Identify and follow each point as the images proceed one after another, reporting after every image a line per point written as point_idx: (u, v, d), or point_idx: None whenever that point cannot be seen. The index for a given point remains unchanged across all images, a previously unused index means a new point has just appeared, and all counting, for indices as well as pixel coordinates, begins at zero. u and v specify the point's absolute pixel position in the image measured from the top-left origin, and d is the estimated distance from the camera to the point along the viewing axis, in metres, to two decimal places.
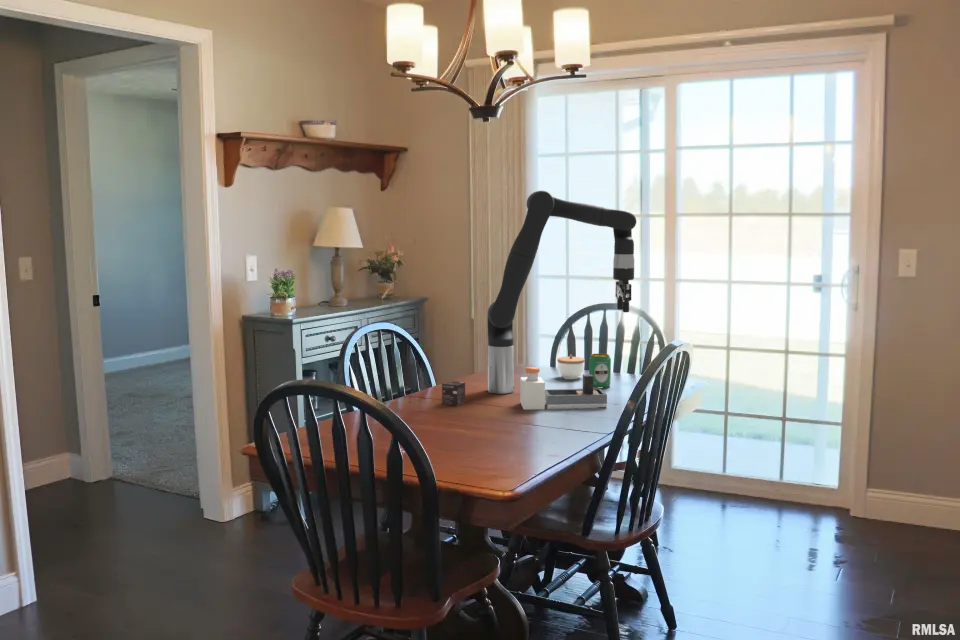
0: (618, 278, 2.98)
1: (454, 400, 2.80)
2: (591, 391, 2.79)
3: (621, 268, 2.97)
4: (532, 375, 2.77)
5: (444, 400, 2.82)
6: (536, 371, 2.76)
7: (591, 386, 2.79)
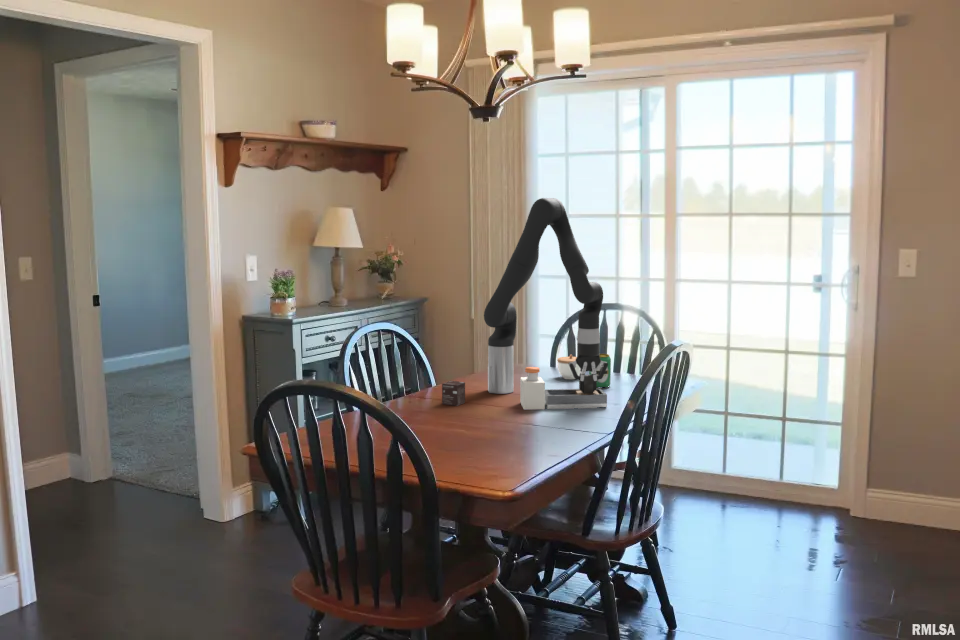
0: (597, 354, 2.76)
1: (453, 399, 2.80)
2: (591, 391, 2.79)
3: (599, 343, 2.77)
4: (532, 375, 2.77)
5: (444, 400, 2.82)
6: (536, 371, 2.76)
7: (591, 386, 2.79)
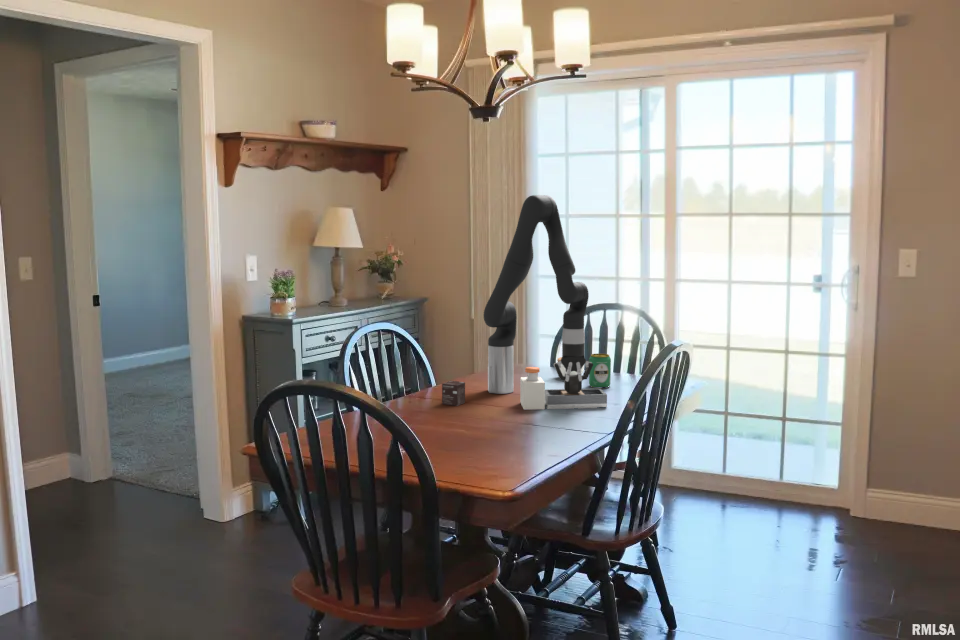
0: (582, 354, 2.76)
1: (453, 399, 2.80)
2: (576, 391, 2.78)
3: (584, 343, 2.76)
4: (532, 375, 2.77)
5: (444, 400, 2.82)
6: (536, 371, 2.76)
7: (576, 386, 2.78)
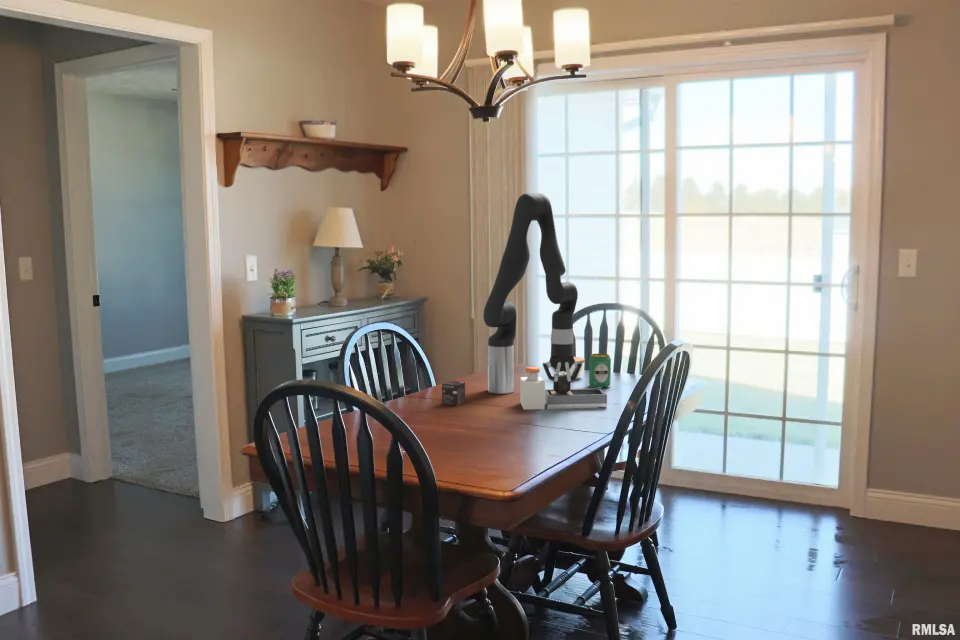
0: (571, 354, 2.76)
1: (453, 399, 2.80)
2: (565, 391, 2.78)
3: (572, 343, 2.76)
4: (532, 375, 2.77)
5: (444, 400, 2.82)
6: (536, 371, 2.76)
7: (565, 386, 2.78)
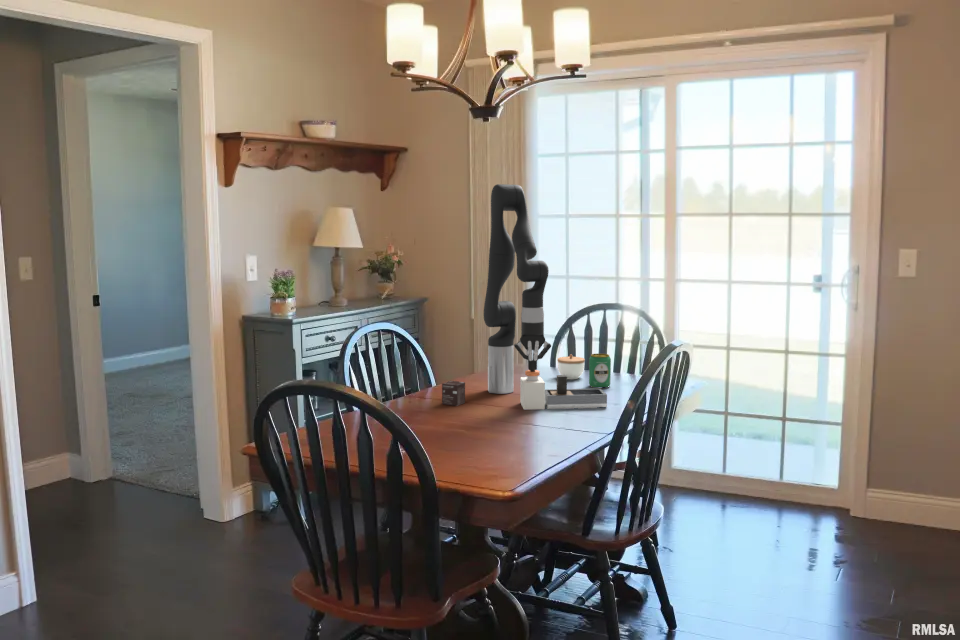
0: (541, 333, 2.74)
1: (453, 399, 2.80)
2: (565, 391, 2.78)
3: (543, 322, 2.75)
4: (532, 378, 2.77)
5: (444, 400, 2.82)
6: (536, 374, 2.76)
7: (565, 386, 2.78)
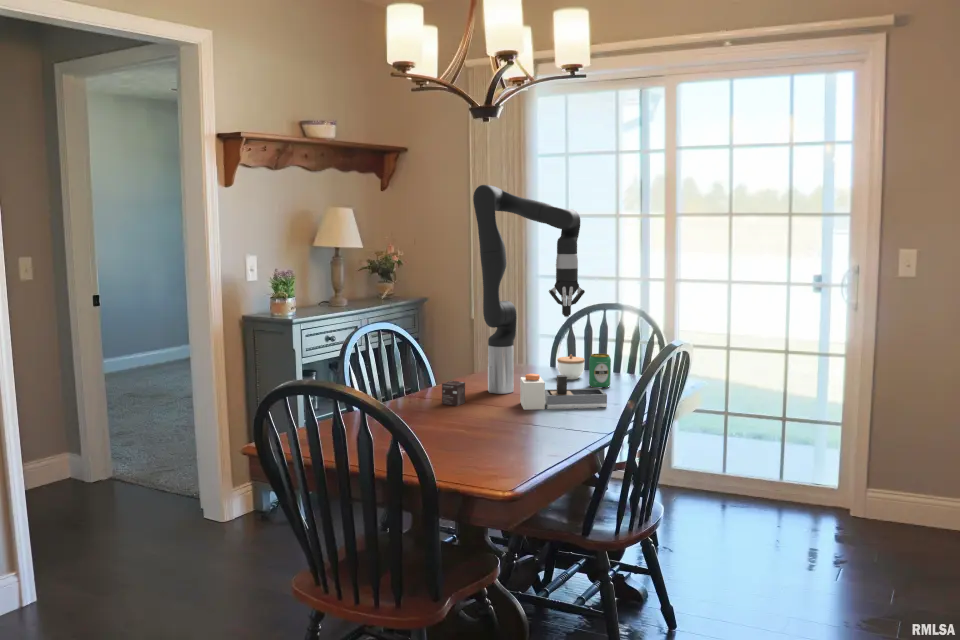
0: (575, 279, 2.85)
1: (453, 399, 2.80)
2: (565, 391, 2.78)
3: (577, 268, 2.85)
4: None
5: (444, 400, 2.82)
6: (536, 378, 2.76)
7: (565, 386, 2.78)
